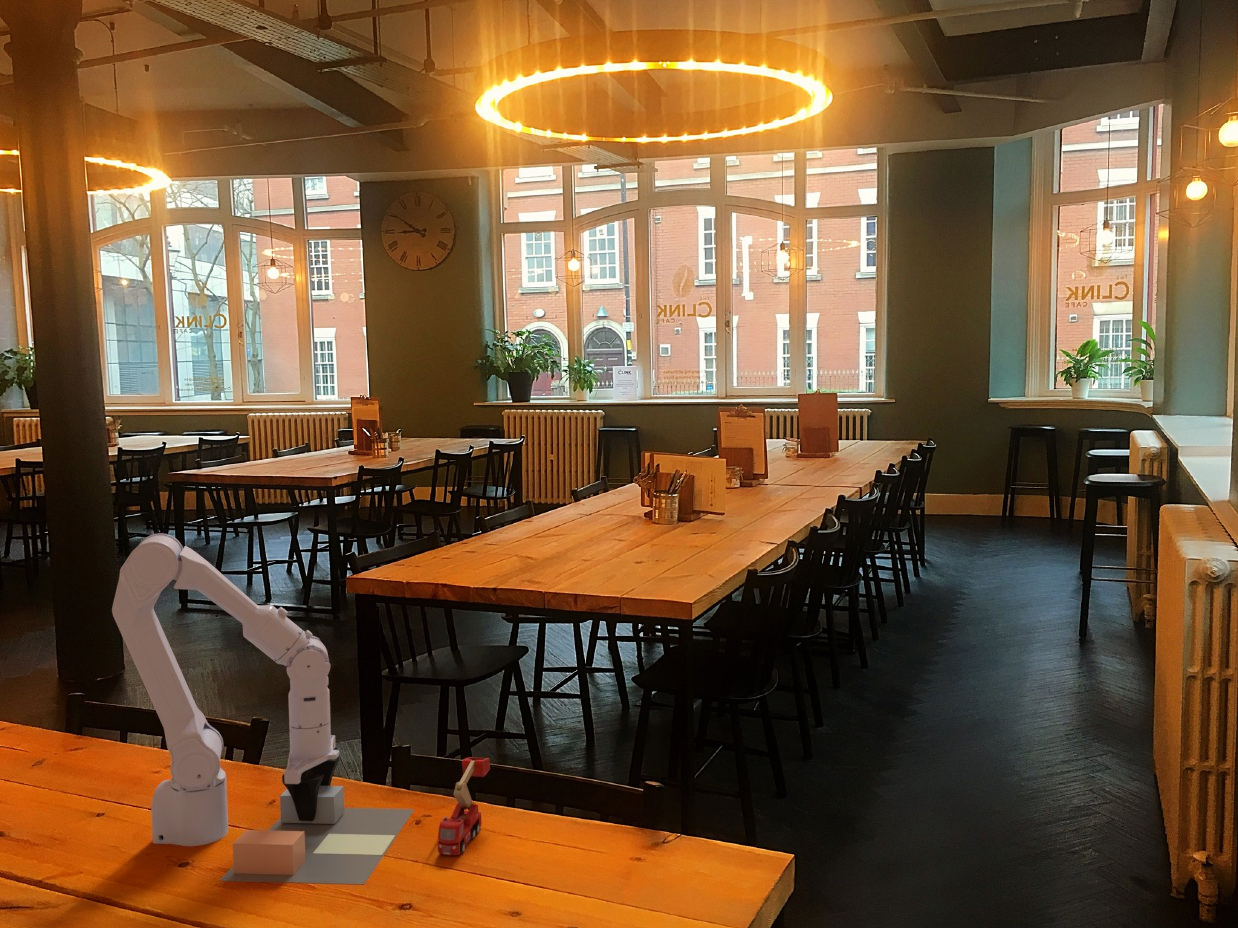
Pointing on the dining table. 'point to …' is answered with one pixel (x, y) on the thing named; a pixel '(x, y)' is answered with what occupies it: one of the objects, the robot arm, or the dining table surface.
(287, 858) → the terracotta brick
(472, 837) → the toy fire truck
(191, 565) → the robot arm
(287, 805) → the slate brick
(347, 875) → the baseplate
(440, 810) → the dining table surface
